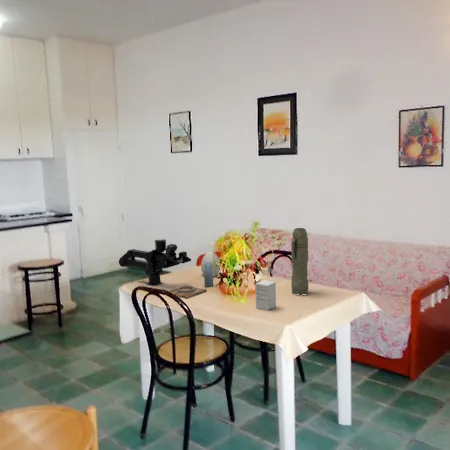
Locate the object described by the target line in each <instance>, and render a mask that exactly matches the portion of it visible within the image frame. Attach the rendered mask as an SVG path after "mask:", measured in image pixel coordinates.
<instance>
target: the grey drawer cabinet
mask: <svg viewBox="0 0 450 450" xmlns="http://www.w3.org/2000/svg"><path fill="white" fill-rule="evenodd" d="M276 287H277V284H276V282H275V281H271V280H265V279H262V280H260V281H258V282H256V283H255V308H257V309H258V308H261V309H260V310H263V309H266V310H265V311H267V310H268V311H270V310H271V308H272V309H274V308H276V307H277V298H276V297H277V292H276V291H277V289H276ZM269 309H270V310H269Z"/></svg>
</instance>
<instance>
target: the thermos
mask: <svg viewBox="0 0 450 450" xmlns="http://www.w3.org/2000/svg"><path fill="white" fill-rule="evenodd" d="M290 243H291V244H290V245H291V246H290V247H291V252H290V253H291V254H290V255H291V263H292V268H291V269H292V279H291V294H292V293H293V294H292V295H294V294H299V295H302V294H307V293H308V294H309V280H308V262H309V245H308V244H309V239H308V233H307V229H306V228H303V227H297V228H296V227H295V228H294V229H293V232H292V239H291V242H290ZM308 294H307V295H308ZM299 295H298V296H299ZM302 296H303V295H302Z"/></svg>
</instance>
